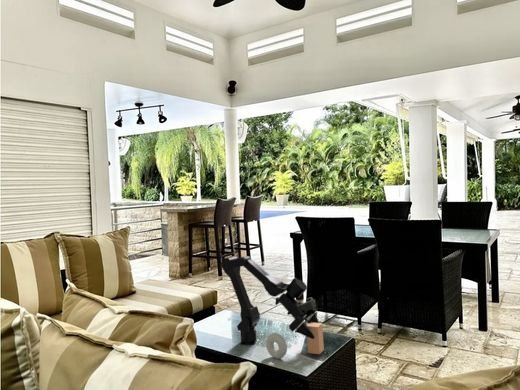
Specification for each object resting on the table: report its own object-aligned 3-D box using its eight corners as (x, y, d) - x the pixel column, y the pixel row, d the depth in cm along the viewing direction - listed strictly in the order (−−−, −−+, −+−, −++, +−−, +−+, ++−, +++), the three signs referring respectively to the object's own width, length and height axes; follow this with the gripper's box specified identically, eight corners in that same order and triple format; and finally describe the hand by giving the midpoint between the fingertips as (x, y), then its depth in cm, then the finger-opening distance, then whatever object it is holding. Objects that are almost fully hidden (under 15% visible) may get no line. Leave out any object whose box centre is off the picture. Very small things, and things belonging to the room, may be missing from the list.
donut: (264, 357, 163) (263, 332, 163) (270, 354, 165) (268, 329, 165) (284, 362, 156) (282, 336, 156) (289, 359, 159) (288, 334, 159)
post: (308, 352, 164) (306, 325, 164) (312, 348, 169) (310, 322, 169) (319, 354, 162) (317, 327, 162) (323, 349, 166) (322, 323, 166)
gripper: (294, 298, 159) (322, 329, 154) (311, 287, 175) (337, 315, 170) (277, 316, 163) (304, 347, 157) (296, 304, 179) (321, 331, 174)
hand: (318, 334), depth 165 cm, fingers open, 9 cm apart
